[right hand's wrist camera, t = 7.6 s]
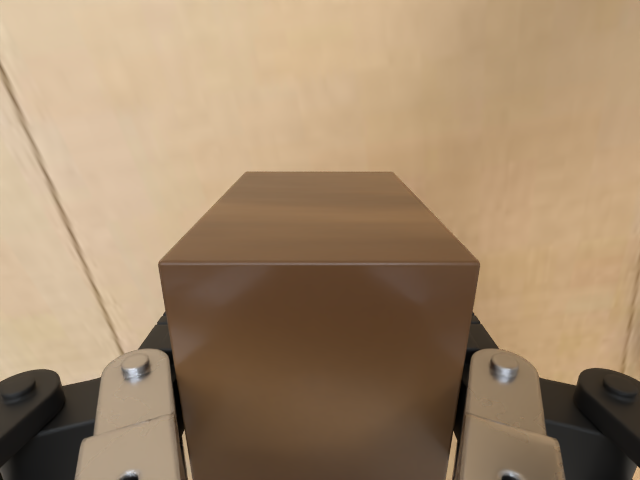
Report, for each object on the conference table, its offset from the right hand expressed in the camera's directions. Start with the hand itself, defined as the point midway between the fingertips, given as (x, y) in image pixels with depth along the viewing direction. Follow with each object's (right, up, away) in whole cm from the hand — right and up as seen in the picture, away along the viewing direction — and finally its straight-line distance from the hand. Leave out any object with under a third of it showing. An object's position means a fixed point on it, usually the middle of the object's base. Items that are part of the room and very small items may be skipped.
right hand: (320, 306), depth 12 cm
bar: (0, -8, +7) cm, 11 cm away
